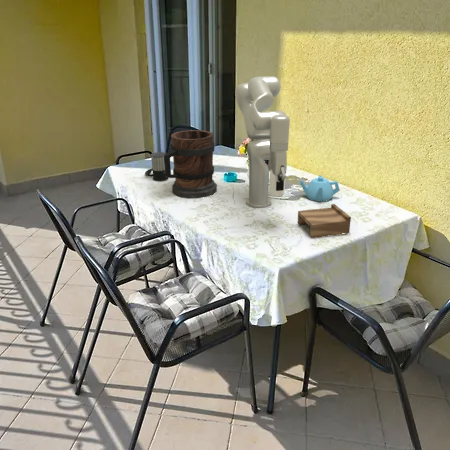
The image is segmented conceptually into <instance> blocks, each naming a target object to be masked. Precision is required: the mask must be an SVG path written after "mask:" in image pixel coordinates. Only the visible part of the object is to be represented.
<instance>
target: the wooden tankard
mask: <svg viewBox="0 0 450 450" xmlns="http://www.w3.org/2000/svg"><path fill="white" fill-rule="evenodd" d="M170 142H171V144H170V146H169V147H170V151H168V152H165V153H166V154H165V155H164V163H165V173H166V177H168V178H169V179H175V180H174V183H173V184H172V186H171V192H172V194H173V195H174V196H176V197H178V198H182V199H188V200H189V199H190V200H191V199H203V197H204V198H207V197H211V196H213V195H215V194H216V193H217V192H218V184H217V183H216V182H215V180H214V179H213V175H214V174H215V167H214V165H213V164H214V162H213V161H214V159H213V158H214V155H213V154H214V151H215V142H214V133H213V132H211V131H208V130H202V129H201V130H200V129H199V130H198V129H189V130H181V131H175V132H174V133H173V132H172V133H171V135H170ZM171 158H172V159H173V169H171ZM172 173H173V174H172ZM214 193H215V194H214ZM210 195H211V196H210Z"/></svg>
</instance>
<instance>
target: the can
mask: <svg viewBox="0 0 450 450" xmlns="http://www.w3.org/2000/svg"><path fill="white" fill-rule="evenodd" d="M279 174H281V172H280V173H279ZM280 177H281V176H279V178H280ZM276 182H277V175H276V176H275V175H274V174H273V172H272V170H269V190H268V195H270V196H271V197H275V198H276V197H277V198H279V197H283V196H284V195H285V191H286V189H285V188H286V187H285V186H286V178H285V179H284V190H282V191H276Z"/></svg>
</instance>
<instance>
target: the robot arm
mask: <svg viewBox="0 0 450 450" xmlns="http://www.w3.org/2000/svg"><path fill="white" fill-rule="evenodd" d="M234 92H235V100H236V104H237V107H238V108H239V110H240V112H241V114H242V118H243V122H244V126H245V130H246V135H247V137H248V139H250V140H251V141H250V142H248V144H247V148H246V149H247V156H248V198H247V199H245V204H246V206H248V207H250V208H256V209H257V208H258V209H259V208H261V207H262V208H266V207H270V205H271V206H272V200H271V199H270V198H269V184H270V170H272V172H273V174H274V175H275V176H276V175H277V182H276V191H282V190H284V179H285V180H286V176H287V175H286V174H287V166H288V162H287V161H288V159H287V158H288V156H287V155H288V153H287V152H288V151H289V139H290V137H289V136H290V120H291V119H290V116H288V115H287V113H286V112H285V111H284V110H283V111H282V110H271V111H266V110H268V109H269V108H271V106H272V105H273V103H274V98H275V97H277V96H278V95H279V94H280V92H281V82H280V80H279V78H278V77H277V76H275V75H274V76H273V75H270V76H269V75H268V76H267V75H265V76H264V75H263V76H255V77H252V78H251V79H250V80H249V81H248V82H243V83H240V84H239V85H237V86H236V87H235V91H234ZM267 160H268V164H267V163H266V162H265V161H267ZM280 172H281V174H279V173H280ZM279 176H281V177H280V178H279Z"/></svg>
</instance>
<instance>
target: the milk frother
mask: <svg viewBox="0 0 450 450" xmlns="http://www.w3.org/2000/svg"><path fill="white" fill-rule="evenodd" d="M166 153H167V152H163V151H160V152H159V151H158V152H157V151H156V152H153V153H151V154H150V158H151V168H149V169H146V171H145V173H144V175H145V176H146V177H152V180H153V181H154V182H165V181H167V180H169V179H170V178H168V177H166V173H165V163H164V155H165V154H166ZM151 173H152V174H151Z"/></svg>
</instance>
